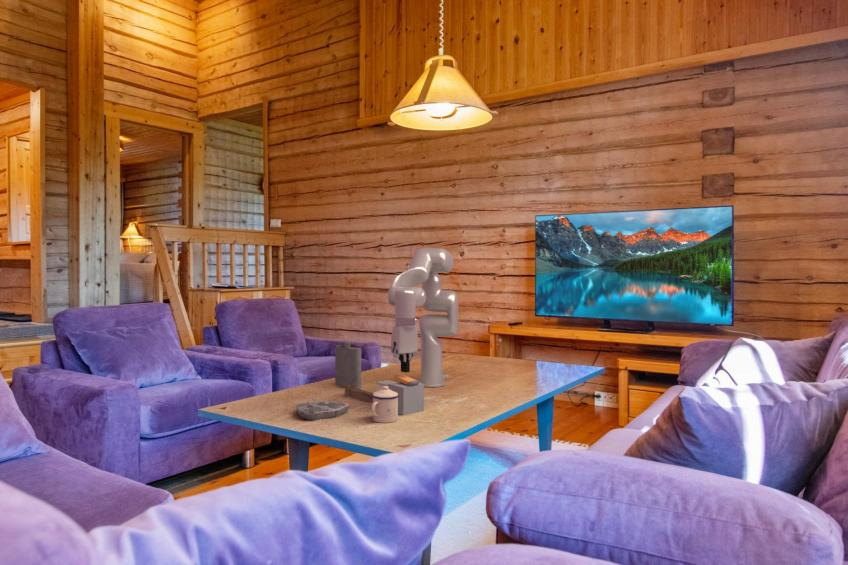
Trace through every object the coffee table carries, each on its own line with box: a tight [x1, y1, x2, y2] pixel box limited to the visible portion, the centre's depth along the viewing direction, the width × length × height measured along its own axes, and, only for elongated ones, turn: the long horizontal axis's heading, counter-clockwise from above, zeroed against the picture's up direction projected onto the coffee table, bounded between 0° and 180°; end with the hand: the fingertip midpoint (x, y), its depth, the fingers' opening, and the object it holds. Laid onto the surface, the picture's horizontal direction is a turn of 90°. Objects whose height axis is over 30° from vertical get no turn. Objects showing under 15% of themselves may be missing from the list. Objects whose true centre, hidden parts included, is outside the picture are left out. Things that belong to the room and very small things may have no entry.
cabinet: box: [389, 381, 425, 416], centre depth 218 cm, size 10×8×10 cm
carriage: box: [376, 380, 399, 392], centre depth 225 cm, size 6×6×8 cm
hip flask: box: [334, 340, 362, 390], centre depth 259 cm, size 16×4×20 cm, turn 47°
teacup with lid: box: [370, 386, 399, 424], centre depth 204 cm, size 12×9×12 cm
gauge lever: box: [392, 373, 420, 386], centre depth 218 cm, size 4×10×2 cm, turn 44°
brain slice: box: [295, 400, 351, 421], centre depth 212 cm, size 20×17×3 cm
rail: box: [344, 384, 374, 404], centre depth 232 cm, size 5×30×4 cm, turn 44°
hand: (405, 371), depth 219 cm, fingers closed
